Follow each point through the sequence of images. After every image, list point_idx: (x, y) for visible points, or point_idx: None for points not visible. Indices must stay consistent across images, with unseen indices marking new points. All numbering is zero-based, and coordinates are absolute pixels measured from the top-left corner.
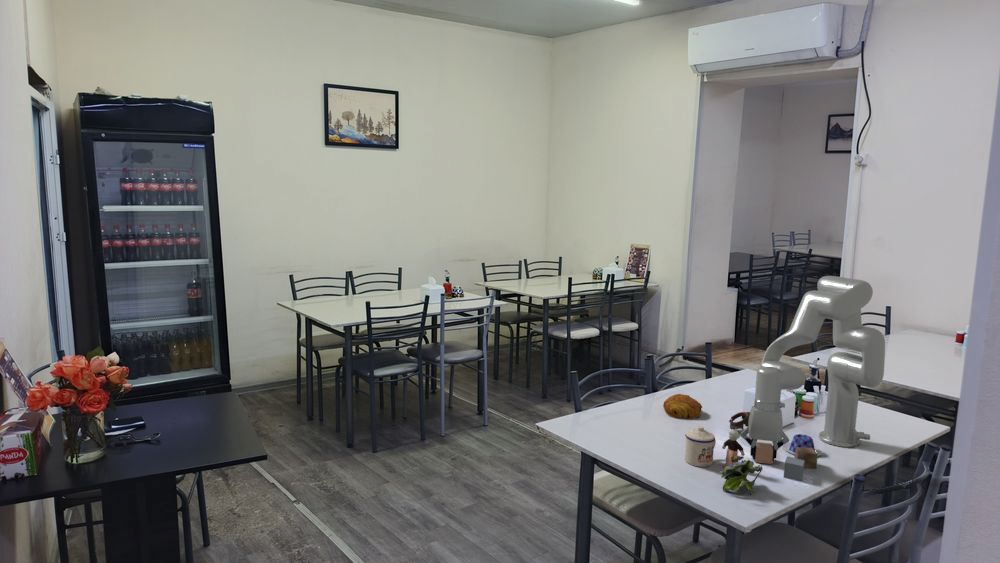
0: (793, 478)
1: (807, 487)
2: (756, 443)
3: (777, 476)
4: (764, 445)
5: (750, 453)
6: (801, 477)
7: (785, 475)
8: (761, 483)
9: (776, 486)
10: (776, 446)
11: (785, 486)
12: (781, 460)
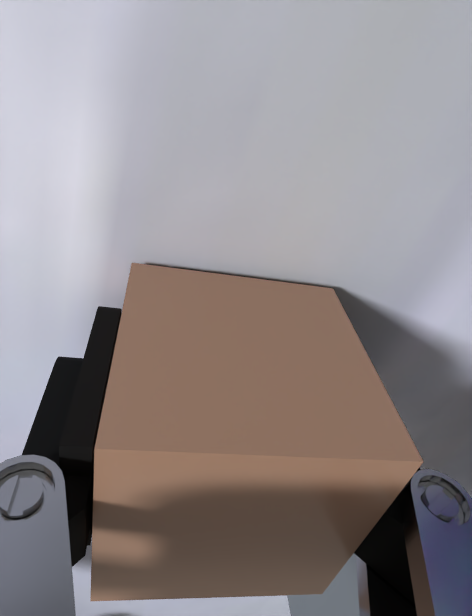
0: None
1: None
2: (114, 509)
3: None
4: (243, 542)
5: (57, 369)
6: None
7: None
8: (111, 605)
9: (189, 607)
10: (397, 602)
11: (240, 599)
12: (438, 303)
